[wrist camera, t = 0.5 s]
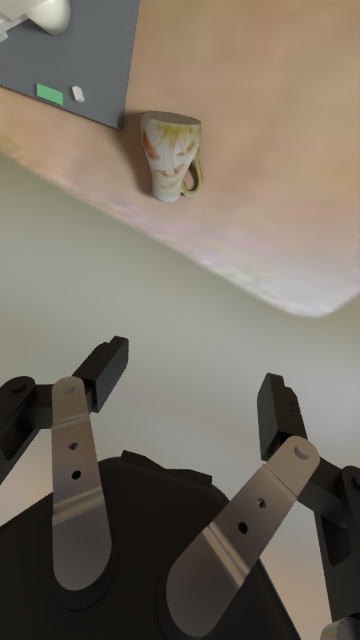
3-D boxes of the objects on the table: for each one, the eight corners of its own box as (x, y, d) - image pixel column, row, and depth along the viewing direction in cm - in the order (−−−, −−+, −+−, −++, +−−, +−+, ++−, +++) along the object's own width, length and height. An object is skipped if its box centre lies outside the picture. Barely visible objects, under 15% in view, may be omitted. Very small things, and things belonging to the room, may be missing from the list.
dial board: (-18, -140, 24) (-43, -171, 22) (150, -80, 24) (142, -106, 22) (-2, 84, 33) (-18, 78, 31) (121, 130, 33) (113, 127, 30)
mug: (146, 202, 37) (110, 159, 27) (173, 139, 36) (145, 71, 26) (190, 218, 35) (167, 177, 25) (219, 152, 34) (207, 83, 24)
